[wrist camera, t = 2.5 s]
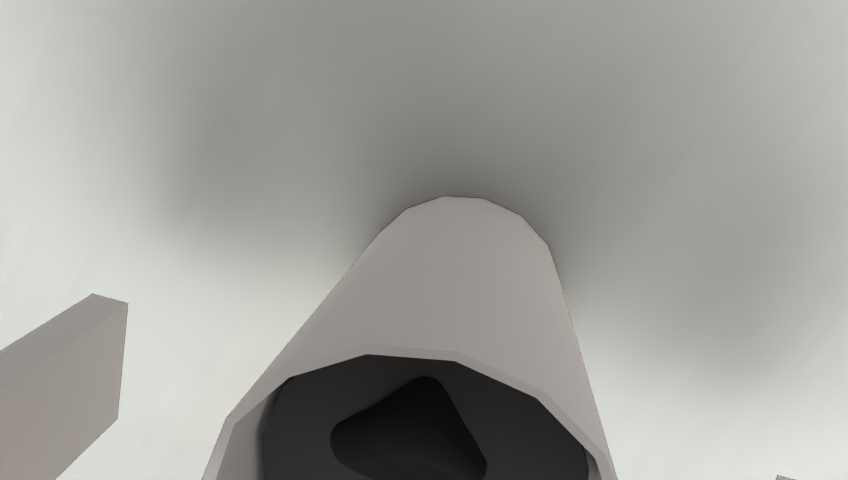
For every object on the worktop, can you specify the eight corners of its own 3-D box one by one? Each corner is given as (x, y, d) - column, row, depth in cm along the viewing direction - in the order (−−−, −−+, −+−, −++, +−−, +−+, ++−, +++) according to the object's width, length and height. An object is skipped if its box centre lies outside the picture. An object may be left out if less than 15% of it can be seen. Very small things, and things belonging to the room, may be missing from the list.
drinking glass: (303, 251, 20) (116, 459, 11) (500, 134, 18) (483, 259, 9) (424, 427, 21) (351, 747, 12) (618, 333, 20) (712, 624, 10)
